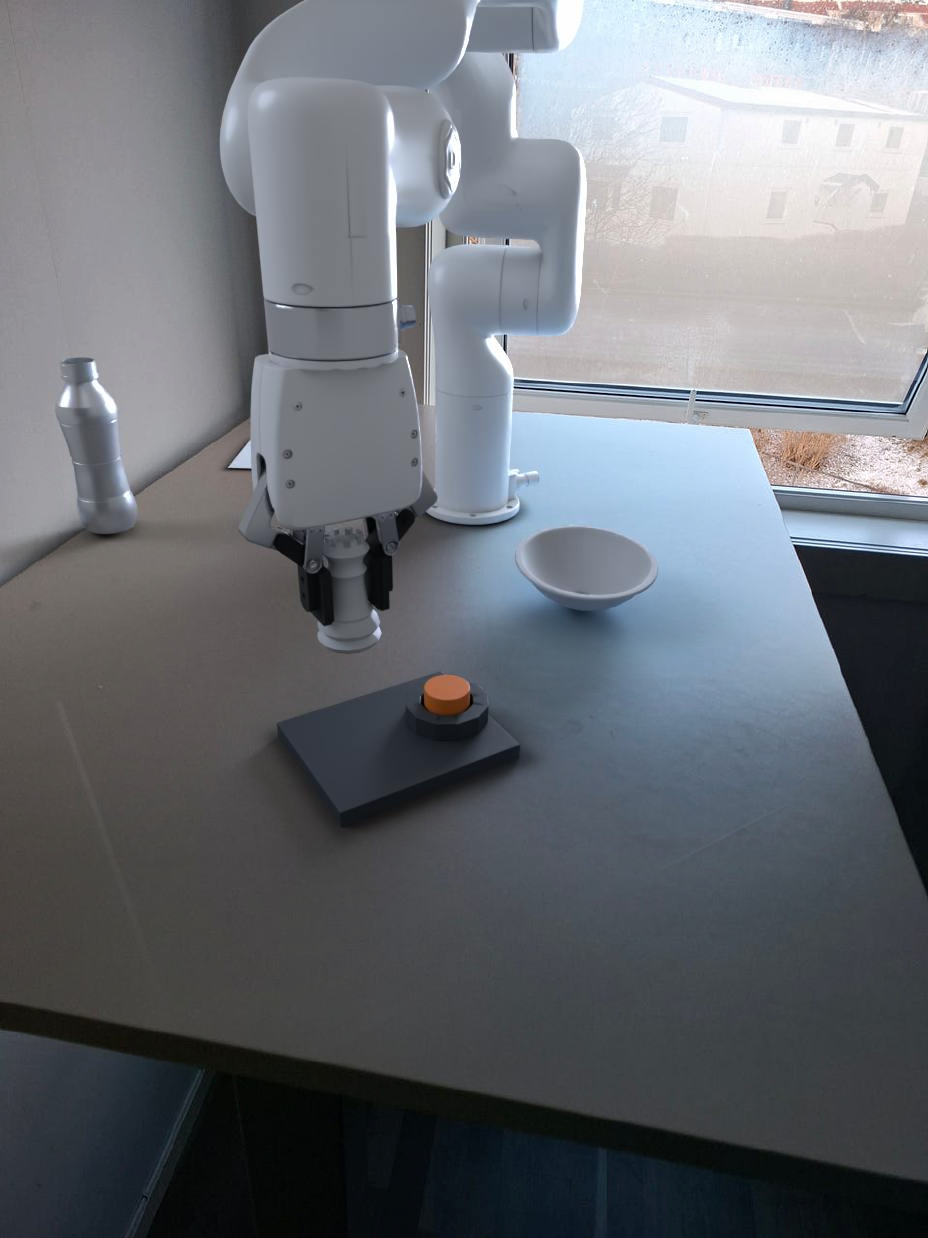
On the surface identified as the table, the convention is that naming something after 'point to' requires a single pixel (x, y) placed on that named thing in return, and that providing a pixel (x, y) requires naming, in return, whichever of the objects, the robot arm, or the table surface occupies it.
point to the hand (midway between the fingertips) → (348, 607)
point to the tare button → (446, 695)
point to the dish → (586, 566)
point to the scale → (392, 748)
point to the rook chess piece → (348, 595)
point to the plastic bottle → (94, 449)
